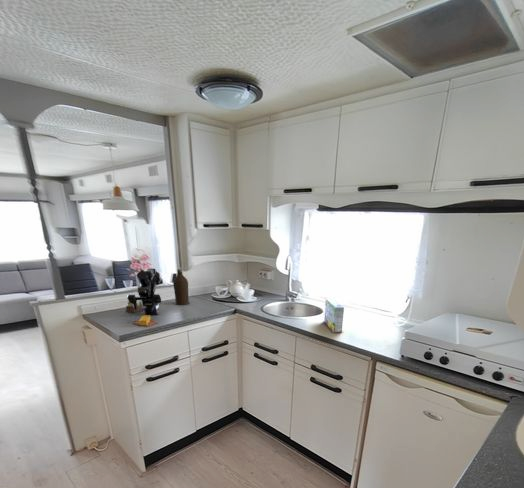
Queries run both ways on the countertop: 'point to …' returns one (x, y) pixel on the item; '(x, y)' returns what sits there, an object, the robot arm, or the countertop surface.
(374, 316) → the countertop surface
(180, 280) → the olive oil
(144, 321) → the bar
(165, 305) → the countertop surface
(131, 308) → the tower
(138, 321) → the mat
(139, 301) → the syrup box
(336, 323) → the snack box
